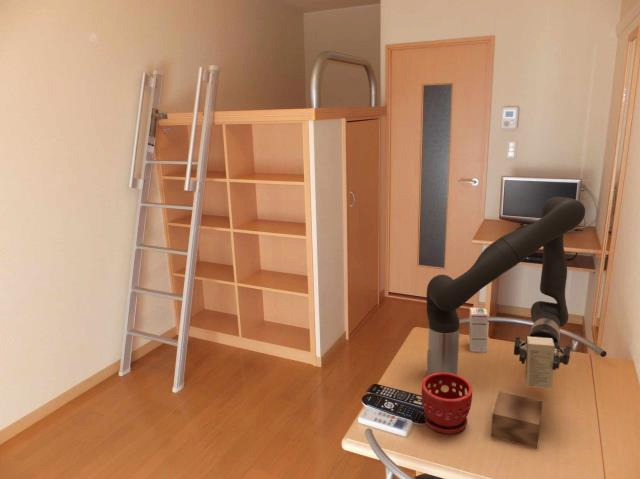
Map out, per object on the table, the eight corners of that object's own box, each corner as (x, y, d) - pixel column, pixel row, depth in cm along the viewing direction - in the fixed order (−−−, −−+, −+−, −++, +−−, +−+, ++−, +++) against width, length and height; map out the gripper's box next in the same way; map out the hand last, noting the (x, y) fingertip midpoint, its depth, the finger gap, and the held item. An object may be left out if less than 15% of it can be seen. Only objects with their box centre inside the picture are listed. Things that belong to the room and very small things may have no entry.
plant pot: (410, 422, 132) (411, 383, 129) (441, 403, 140) (443, 366, 137) (449, 446, 122) (451, 405, 119) (480, 425, 130) (482, 385, 127)
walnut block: (491, 436, 126) (492, 413, 124) (497, 413, 135) (499, 391, 133) (537, 448, 120) (539, 424, 119) (540, 423, 130) (542, 401, 128)
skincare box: (550, 380, 126) (554, 337, 123) (552, 389, 122) (556, 345, 119) (523, 377, 128) (526, 335, 125) (524, 385, 124) (527, 342, 121)
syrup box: (487, 352, 167) (489, 314, 164) (469, 351, 169) (470, 313, 165) (485, 345, 173) (486, 307, 169) (467, 344, 174) (469, 306, 170)
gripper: (518, 319, 138) (509, 344, 124) (574, 328, 131) (572, 356, 117) (516, 343, 140) (507, 370, 126) (571, 353, 133) (569, 383, 119)
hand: (538, 363), depth 122 cm, fingers closed on skincare box, 6 cm apart
